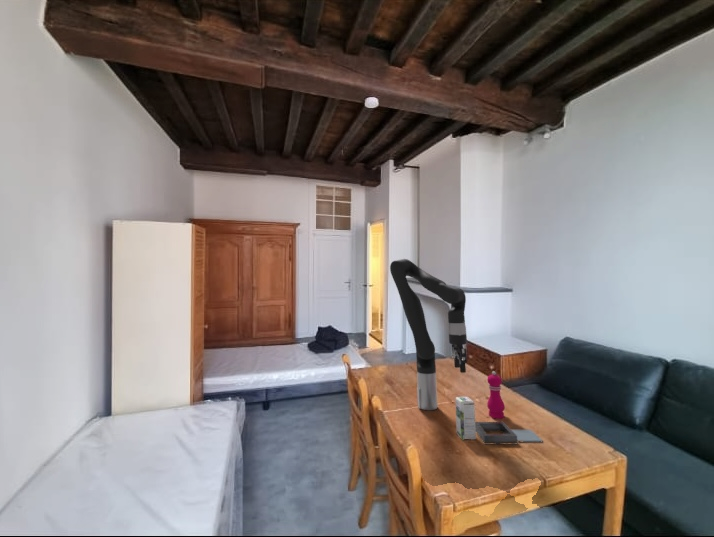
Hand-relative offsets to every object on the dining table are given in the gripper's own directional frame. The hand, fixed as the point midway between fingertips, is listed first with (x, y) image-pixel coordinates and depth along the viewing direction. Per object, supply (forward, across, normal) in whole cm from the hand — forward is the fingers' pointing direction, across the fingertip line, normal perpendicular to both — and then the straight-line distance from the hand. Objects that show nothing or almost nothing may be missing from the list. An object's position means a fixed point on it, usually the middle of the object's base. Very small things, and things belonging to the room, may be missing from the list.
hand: (460, 369), depth 135 cm
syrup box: (+23, +12, -3) cm, 26 cm away
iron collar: (+23, +13, +8) cm, 27 cm away
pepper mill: (+23, -6, +16) cm, 29 cm away
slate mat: (+23, +13, +20) cm, 33 cm away
